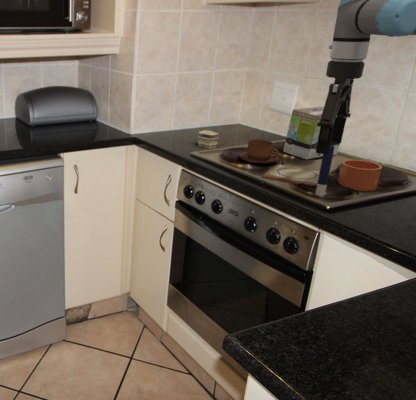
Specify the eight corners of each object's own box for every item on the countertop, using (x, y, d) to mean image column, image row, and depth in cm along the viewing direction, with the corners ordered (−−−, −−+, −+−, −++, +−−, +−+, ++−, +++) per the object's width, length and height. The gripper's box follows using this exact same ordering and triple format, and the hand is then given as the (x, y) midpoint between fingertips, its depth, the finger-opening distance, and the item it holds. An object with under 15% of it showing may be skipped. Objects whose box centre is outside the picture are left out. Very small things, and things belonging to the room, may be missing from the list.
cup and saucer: (281, 159, 155) (284, 141, 153) (274, 168, 146) (277, 149, 143) (243, 154, 161) (245, 136, 159) (234, 163, 152) (236, 144, 150)
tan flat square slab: (330, 175, 139) (331, 172, 139) (318, 188, 129) (319, 184, 129) (277, 166, 148) (277, 163, 148) (261, 177, 138) (262, 174, 138)
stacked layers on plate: (226, 149, 168) (228, 133, 166) (208, 152, 164) (210, 137, 162) (204, 143, 176) (206, 128, 174) (187, 146, 172) (188, 131, 170)
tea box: (308, 160, 153) (318, 115, 148) (282, 152, 162) (290, 108, 156) (338, 154, 160) (349, 110, 154) (311, 147, 168) (321, 105, 162)
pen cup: (379, 184, 131) (384, 163, 129) (373, 193, 125) (378, 171, 123) (341, 178, 137) (346, 157, 135) (334, 186, 130) (338, 165, 128)
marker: (325, 194, 125) (335, 145, 120) (323, 196, 123) (333, 147, 118) (316, 192, 126) (325, 144, 121) (314, 194, 124) (323, 146, 120)
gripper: (340, 55, 124) (324, 135, 131) (315, 63, 106) (298, 155, 114) (374, 57, 119) (355, 140, 127) (354, 65, 101) (333, 161, 109)
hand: (328, 147), depth 120 cm, fingers open, 13 cm apart
